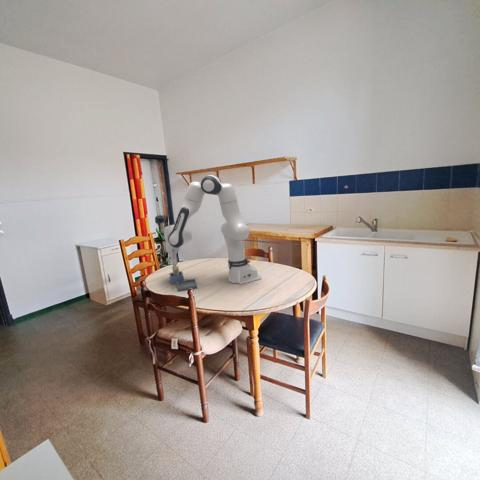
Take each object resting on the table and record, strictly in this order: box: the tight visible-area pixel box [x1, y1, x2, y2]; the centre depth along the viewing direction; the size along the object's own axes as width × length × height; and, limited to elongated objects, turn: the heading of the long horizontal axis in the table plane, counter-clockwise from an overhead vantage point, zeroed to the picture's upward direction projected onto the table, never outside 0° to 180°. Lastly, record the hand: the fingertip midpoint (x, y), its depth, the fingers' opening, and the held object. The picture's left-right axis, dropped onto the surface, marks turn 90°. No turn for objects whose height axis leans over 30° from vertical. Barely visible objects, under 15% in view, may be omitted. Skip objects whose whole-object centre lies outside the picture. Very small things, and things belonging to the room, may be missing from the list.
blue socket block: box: [169, 270, 185, 285], centre depth 181 cm, size 9×9×5 cm
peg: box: [171, 265, 180, 276], centre depth 180 cm, size 4×4×10 cm
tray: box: [176, 278, 199, 292], centre depth 169 cm, size 12×12×2 cm
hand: (174, 267), depth 179 cm, fingers open, 8 cm apart
